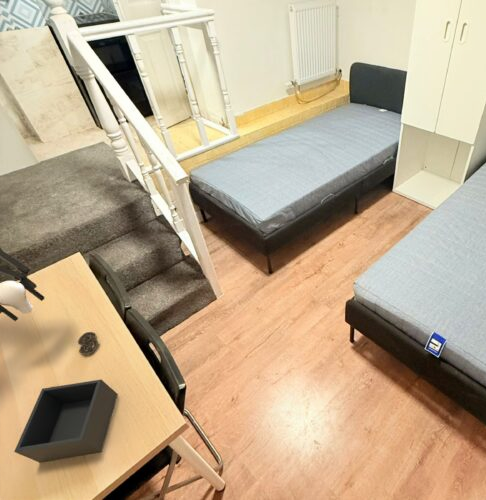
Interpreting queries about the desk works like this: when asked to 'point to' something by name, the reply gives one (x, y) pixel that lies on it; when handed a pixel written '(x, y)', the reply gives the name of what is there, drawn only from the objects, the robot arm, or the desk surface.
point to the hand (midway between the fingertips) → (29, 308)
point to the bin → (68, 421)
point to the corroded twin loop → (87, 343)
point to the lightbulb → (14, 296)
